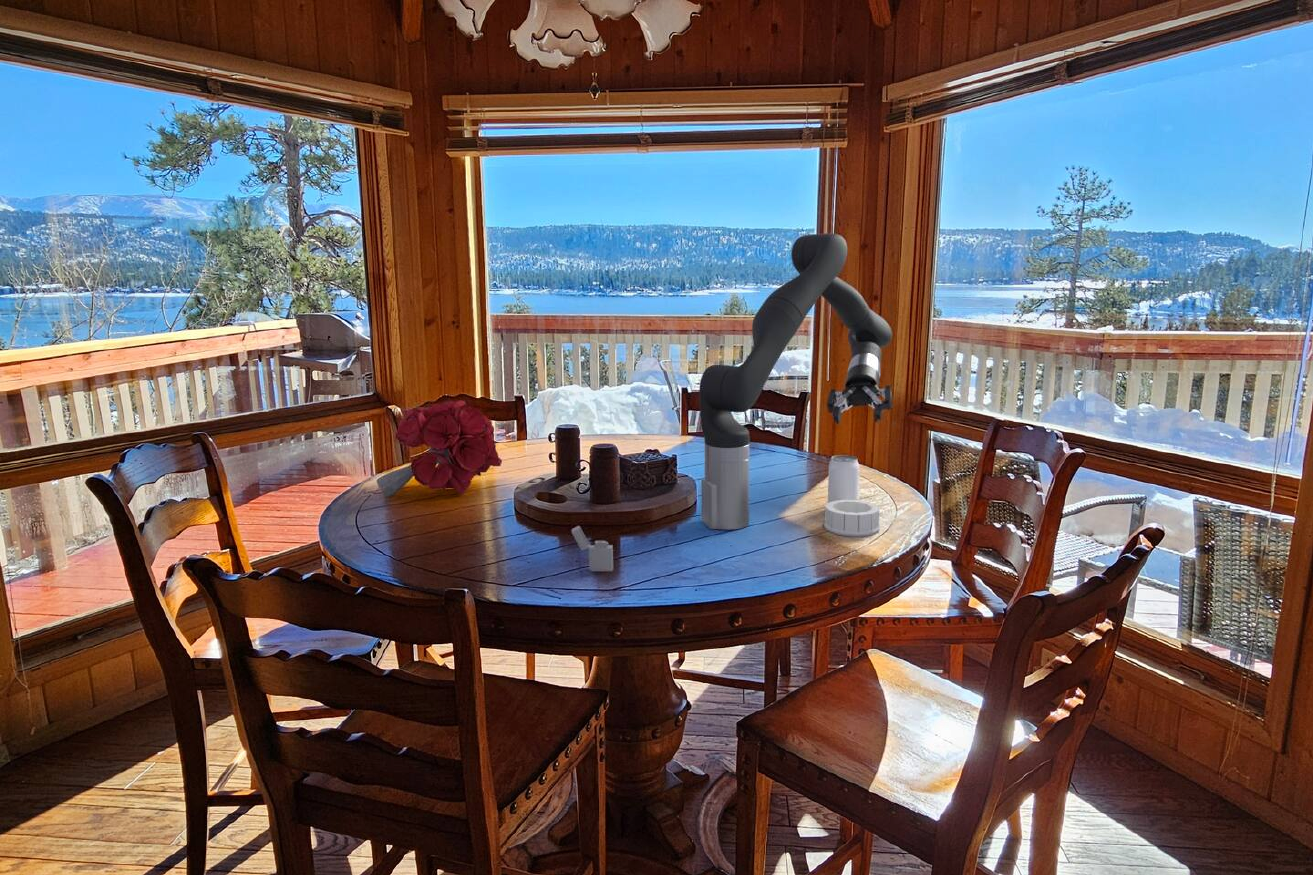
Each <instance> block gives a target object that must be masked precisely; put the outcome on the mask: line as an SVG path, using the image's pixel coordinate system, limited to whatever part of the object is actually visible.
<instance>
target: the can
mask: <svg viewBox="0 0 1313 875" xmlns="http://www.w3.org/2000/svg"><path fill="white" fill-rule="evenodd" d="M827 476H828V479H827V482H828V484H827V503H829V502H831V501H836V500H859V491H860V490H859V486H860V464H859V462H858V457H857V456H853V455H848V454H847V455H846V454H842V455H841V454H840V455H839V454H838V455H833V456H831V457H830V461H829V463H828V475H827Z"/></svg>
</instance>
